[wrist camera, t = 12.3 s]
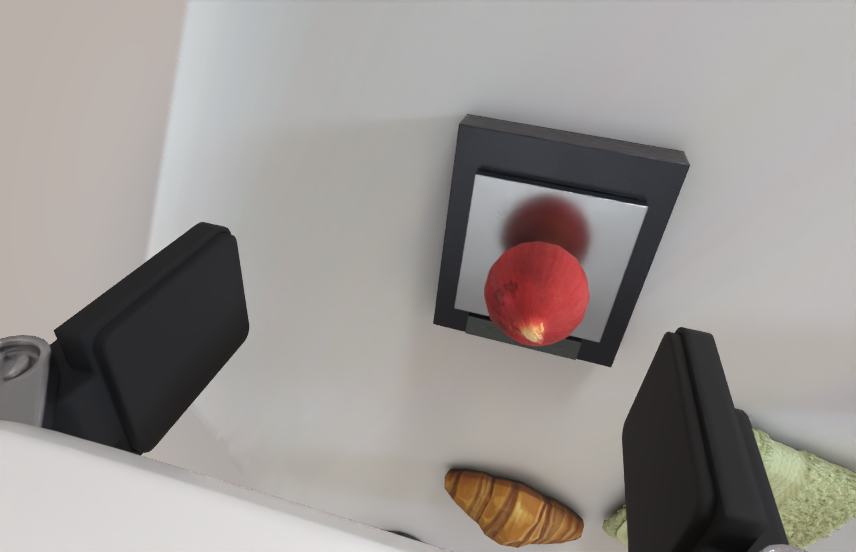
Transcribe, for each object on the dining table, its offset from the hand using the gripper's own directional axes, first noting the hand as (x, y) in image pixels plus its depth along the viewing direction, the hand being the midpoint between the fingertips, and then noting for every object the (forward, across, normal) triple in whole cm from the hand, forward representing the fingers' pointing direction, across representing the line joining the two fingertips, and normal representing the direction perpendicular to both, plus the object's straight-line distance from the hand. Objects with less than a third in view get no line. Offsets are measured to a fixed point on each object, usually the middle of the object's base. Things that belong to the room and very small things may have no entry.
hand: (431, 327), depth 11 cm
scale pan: (+21, -3, +10) cm, 24 cm away
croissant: (+23, -6, +37) cm, 44 cm away
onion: (+20, -3, +10) cm, 23 cm away
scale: (+23, -3, +10) cm, 26 cm away
